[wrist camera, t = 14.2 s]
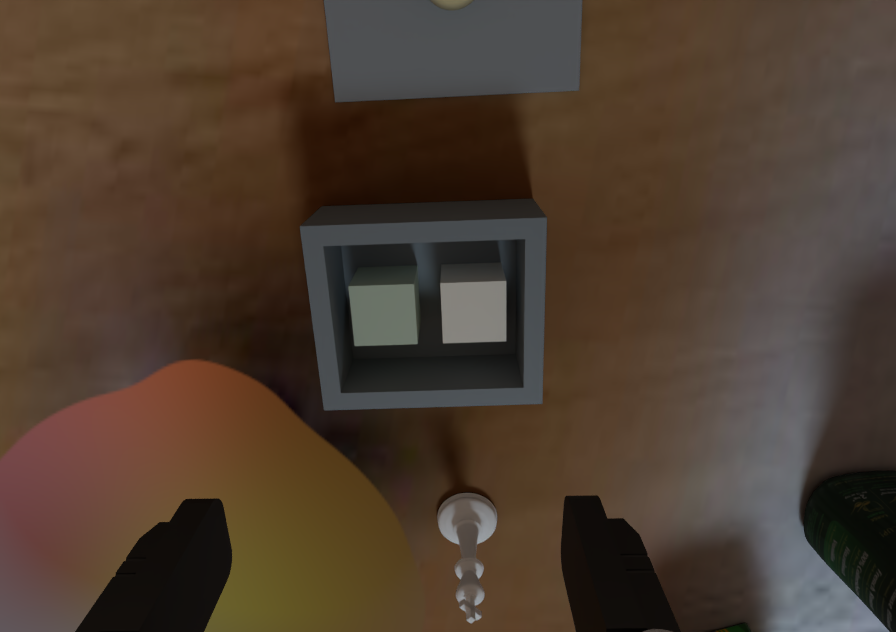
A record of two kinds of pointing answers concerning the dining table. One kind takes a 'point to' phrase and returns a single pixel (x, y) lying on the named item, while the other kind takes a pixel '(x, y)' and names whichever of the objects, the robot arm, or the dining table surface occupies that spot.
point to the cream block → (473, 302)
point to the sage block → (385, 305)
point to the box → (427, 302)
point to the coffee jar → (858, 536)
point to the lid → (452, 47)
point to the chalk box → (736, 628)
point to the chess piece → (468, 543)
